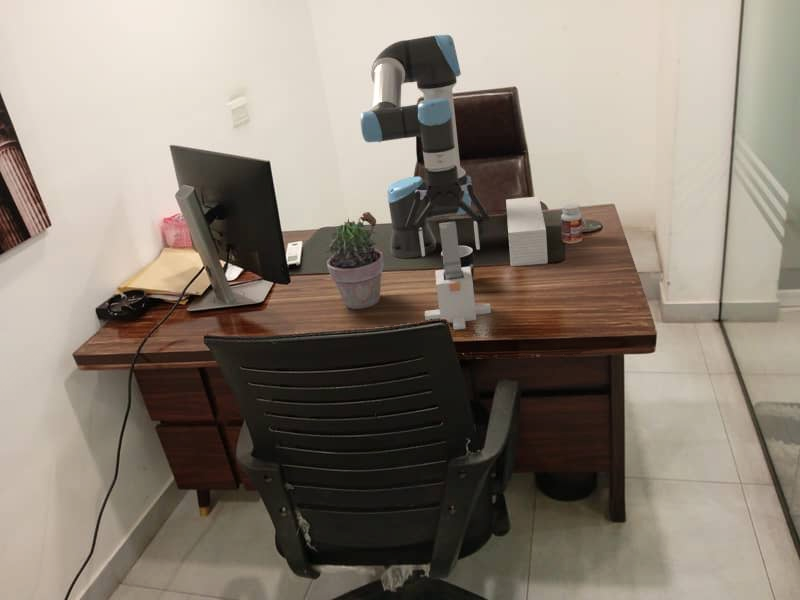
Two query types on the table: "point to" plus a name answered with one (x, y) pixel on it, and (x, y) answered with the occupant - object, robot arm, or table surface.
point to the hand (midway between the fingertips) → (450, 251)
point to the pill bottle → (571, 223)
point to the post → (450, 250)
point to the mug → (465, 258)
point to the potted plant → (356, 264)
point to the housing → (456, 300)
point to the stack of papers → (526, 231)
